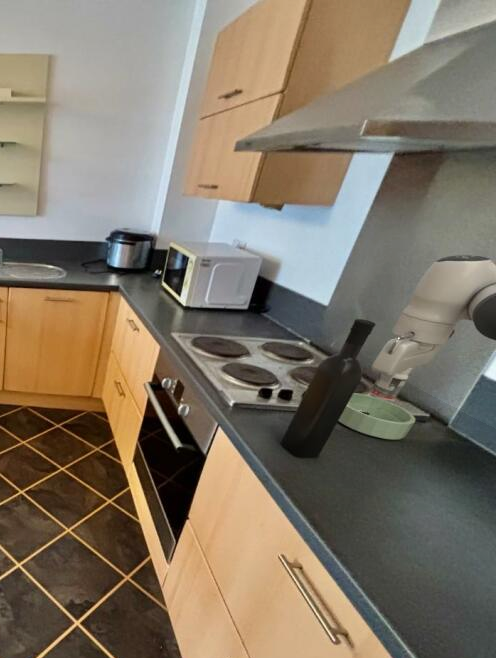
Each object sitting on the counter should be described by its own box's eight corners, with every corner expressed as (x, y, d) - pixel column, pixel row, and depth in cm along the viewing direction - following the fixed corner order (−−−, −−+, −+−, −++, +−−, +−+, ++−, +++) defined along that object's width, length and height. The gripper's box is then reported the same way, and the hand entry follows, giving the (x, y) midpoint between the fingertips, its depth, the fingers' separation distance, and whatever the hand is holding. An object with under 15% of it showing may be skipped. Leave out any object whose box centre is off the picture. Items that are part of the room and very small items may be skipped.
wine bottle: (277, 442, 94) (339, 315, 80) (301, 442, 94) (366, 317, 80) (295, 458, 89) (364, 326, 75) (320, 458, 89) (393, 327, 75)
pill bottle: (365, 392, 101) (382, 361, 97) (375, 390, 102) (393, 359, 98) (387, 402, 97) (407, 370, 93) (398, 399, 99) (418, 367, 95)
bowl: (415, 433, 101) (426, 416, 98) (386, 447, 95) (397, 429, 92) (347, 404, 112) (356, 388, 110) (317, 415, 106) (326, 398, 104)
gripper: (418, 340, 85) (383, 398, 91) (459, 330, 93) (424, 384, 100) (381, 330, 90) (350, 385, 96) (423, 321, 98) (393, 373, 105)
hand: (388, 384), depth 98 cm, fingers closed on pill bottle, 5 cm apart
